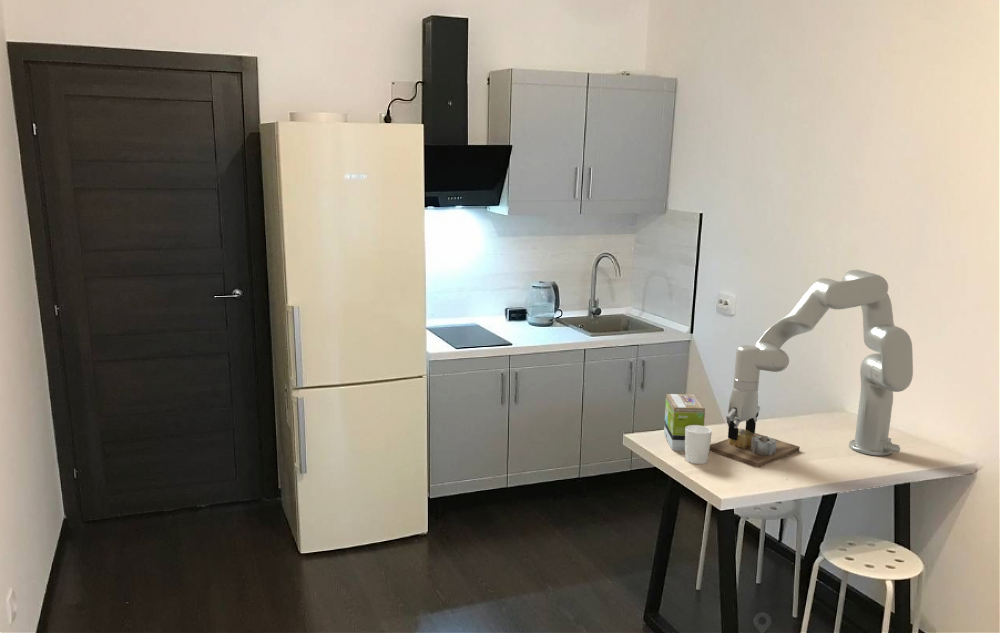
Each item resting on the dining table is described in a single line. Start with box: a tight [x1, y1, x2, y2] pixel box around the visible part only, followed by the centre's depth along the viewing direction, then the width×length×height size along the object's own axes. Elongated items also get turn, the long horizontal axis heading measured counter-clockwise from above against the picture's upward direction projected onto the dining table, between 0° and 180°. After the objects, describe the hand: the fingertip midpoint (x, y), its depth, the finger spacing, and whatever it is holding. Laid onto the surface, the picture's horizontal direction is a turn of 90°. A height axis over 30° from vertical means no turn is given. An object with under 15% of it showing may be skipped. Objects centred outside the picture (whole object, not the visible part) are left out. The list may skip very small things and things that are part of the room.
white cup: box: [684, 425, 713, 465], centre depth 231 cm, size 8×8×10 cm
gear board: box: [709, 428, 800, 469], centre depth 240 cm, size 18×24×6 cm
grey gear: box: [751, 435, 777, 456], centre depth 236 cm, size 7×7×4 cm
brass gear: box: [728, 428, 754, 448], centre depth 242 cm, size 7×7×4 cm
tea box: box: [663, 393, 706, 452], centre depth 245 cm, size 15×10×15 cm, turn 178°
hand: (741, 436), depth 242 cm, fingers open, 9 cm apart
